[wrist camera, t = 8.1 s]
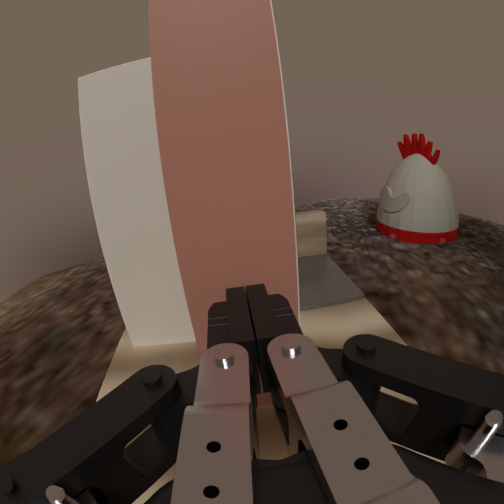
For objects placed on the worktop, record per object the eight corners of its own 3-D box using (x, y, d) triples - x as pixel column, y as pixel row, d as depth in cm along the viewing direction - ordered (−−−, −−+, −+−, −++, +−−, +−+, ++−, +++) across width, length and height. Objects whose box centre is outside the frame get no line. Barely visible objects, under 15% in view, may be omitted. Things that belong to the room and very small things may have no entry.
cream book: (199, 340, 20) (154, 56, 14) (133, 346, 20) (77, 78, 13) (204, 273, 32) (179, 91, 25) (158, 279, 31) (129, 102, 25)
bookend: (364, 299, 23) (366, 148, 19) (291, 312, 23) (280, 151, 18) (325, 256, 32) (320, 146, 28) (270, 264, 32) (259, 150, 28)
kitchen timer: (413, 214, 49) (413, 134, 44) (472, 233, 37) (475, 138, 32) (359, 226, 46) (355, 132, 40) (423, 251, 33) (425, 131, 28)
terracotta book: (302, 398, 14) (263, -57, 7) (216, 412, 14) (149, -46, 6) (257, 269, 31) (234, 55, 24) (213, 275, 31) (186, 61, 23)
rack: (512, 510, 4) (590, 436, 2) (64, 587, 3) (-36, 543, 1) (322, 259, 34) (321, 209, 32) (151, 283, 33) (140, 233, 31)
